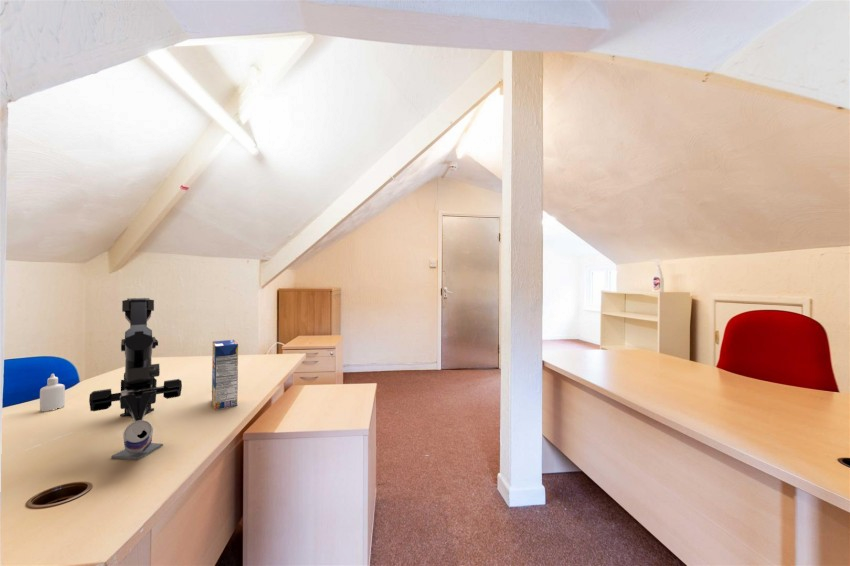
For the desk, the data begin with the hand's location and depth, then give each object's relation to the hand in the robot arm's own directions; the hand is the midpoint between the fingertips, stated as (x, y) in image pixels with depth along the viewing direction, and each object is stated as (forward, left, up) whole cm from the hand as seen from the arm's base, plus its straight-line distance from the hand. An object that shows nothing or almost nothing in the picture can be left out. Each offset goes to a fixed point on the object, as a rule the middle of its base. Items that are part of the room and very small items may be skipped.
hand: (138, 423), depth 87 cm
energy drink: (0, 0, -5) cm, 5 cm away
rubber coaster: (-1, +1, -8) cm, 8 cm away
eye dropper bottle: (-55, +24, -8) cm, 60 cm away
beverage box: (-2, +36, -8) cm, 37 cm away
